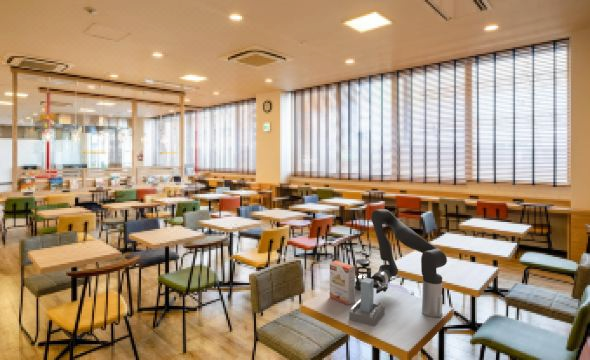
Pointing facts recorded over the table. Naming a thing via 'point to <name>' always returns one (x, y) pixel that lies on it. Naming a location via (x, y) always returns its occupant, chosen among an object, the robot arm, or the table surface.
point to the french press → (364, 264)
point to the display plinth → (366, 314)
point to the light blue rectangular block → (367, 294)
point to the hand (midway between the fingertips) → (368, 289)
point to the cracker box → (342, 282)
